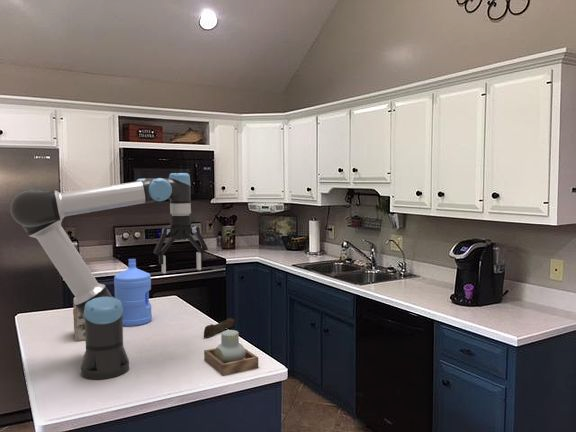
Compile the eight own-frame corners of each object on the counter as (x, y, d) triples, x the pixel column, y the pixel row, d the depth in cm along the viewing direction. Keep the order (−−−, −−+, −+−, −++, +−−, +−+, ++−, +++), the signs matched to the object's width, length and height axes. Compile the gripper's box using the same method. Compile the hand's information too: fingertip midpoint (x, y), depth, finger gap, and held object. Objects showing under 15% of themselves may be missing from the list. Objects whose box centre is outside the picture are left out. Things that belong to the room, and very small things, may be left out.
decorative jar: (74, 342, 193) (73, 296, 192) (73, 333, 204) (72, 290, 202) (107, 337, 198) (105, 293, 197) (104, 329, 209) (103, 287, 208)
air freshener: (248, 363, 167) (248, 334, 166) (225, 368, 163) (225, 338, 162) (234, 353, 177) (234, 326, 176) (212, 358, 172) (212, 330, 171)
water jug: (124, 329, 210) (122, 263, 208) (109, 321, 221) (107, 259, 219) (158, 322, 220) (156, 259, 218) (142, 314, 232) (141, 255, 230)
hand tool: (228, 326, 215) (228, 315, 214) (235, 327, 212) (235, 316, 212) (198, 338, 198) (198, 326, 198) (206, 339, 196) (206, 328, 196)
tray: (222, 375, 160) (222, 365, 159) (204, 360, 173) (204, 350, 173) (258, 367, 166) (258, 357, 166) (238, 353, 180) (238, 343, 180)
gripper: (208, 212, 194) (209, 266, 195) (144, 215, 181) (145, 272, 183) (215, 214, 187) (216, 269, 189) (149, 216, 175) (151, 276, 176)
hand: (181, 271), depth 186 cm, fingers open, 13 cm apart
